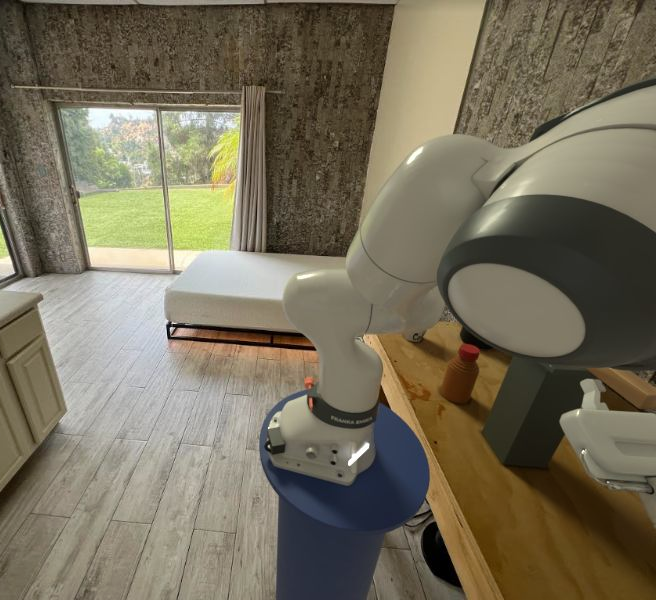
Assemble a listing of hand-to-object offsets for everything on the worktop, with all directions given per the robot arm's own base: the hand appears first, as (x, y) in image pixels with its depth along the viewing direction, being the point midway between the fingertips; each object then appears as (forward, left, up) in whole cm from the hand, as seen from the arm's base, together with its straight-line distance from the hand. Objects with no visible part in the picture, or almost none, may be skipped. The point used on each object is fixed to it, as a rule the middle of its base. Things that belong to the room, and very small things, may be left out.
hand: (625, 382), depth 45 cm
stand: (0, +10, -27) cm, 29 cm away
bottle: (-4, +27, -27) cm, 39 cm away
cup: (-6, +54, -28) cm, 61 cm away
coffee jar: (+14, +53, -28) cm, 61 cm away
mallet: (0, +6, -1) cm, 6 cm away
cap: (-4, +27, -13) cm, 30 cm away
